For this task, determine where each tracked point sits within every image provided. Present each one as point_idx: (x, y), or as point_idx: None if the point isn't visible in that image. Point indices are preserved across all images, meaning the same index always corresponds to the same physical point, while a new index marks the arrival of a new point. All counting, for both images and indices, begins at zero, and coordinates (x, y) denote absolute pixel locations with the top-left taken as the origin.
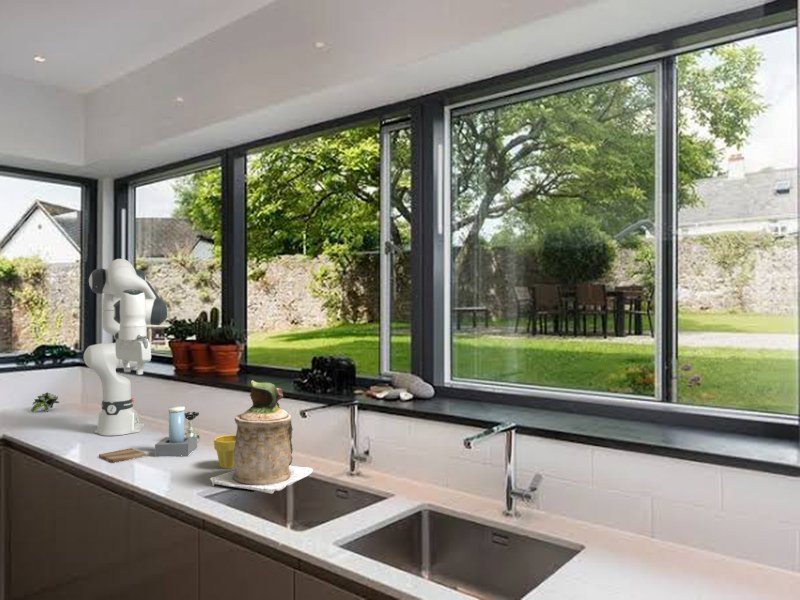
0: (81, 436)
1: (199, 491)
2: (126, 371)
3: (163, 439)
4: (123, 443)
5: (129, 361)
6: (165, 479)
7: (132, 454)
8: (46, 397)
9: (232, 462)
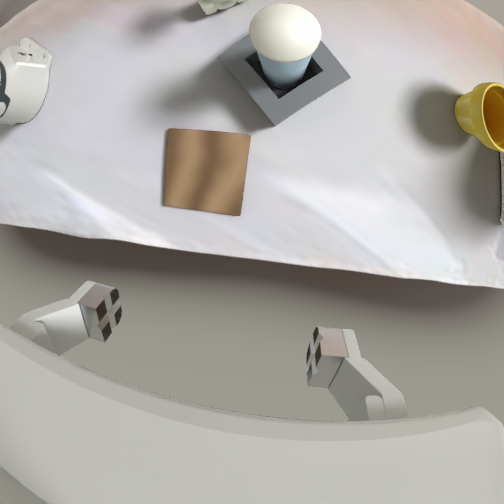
0: (16, 150)
1: (495, 248)
2: (118, 318)
3: (238, 75)
4: (98, 110)
5: (40, 331)
6: (430, 234)
7: (228, 160)
8: None
9: (487, 129)
